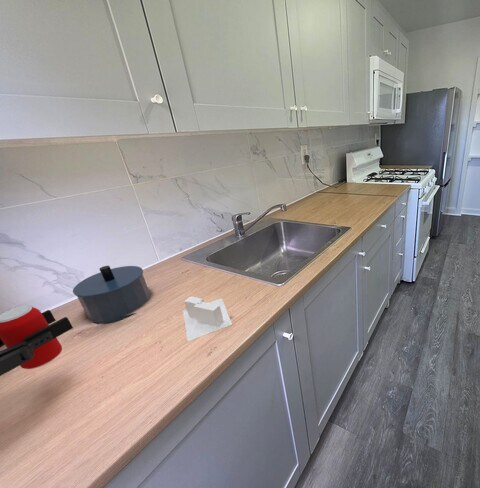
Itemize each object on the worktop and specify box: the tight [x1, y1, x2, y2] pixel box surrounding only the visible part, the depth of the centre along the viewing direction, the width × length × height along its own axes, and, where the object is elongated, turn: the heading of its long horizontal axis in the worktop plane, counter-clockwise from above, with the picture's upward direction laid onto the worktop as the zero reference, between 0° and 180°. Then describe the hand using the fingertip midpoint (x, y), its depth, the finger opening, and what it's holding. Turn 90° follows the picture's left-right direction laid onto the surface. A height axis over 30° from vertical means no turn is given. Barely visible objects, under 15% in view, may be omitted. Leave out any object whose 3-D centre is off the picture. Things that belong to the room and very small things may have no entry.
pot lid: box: [72, 265, 144, 298], centre depth 78 cm, size 17×17×5 cm
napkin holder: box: [182, 296, 233, 342], centre depth 74 cm, size 15×11×6 cm
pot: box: [76, 273, 151, 325], centre depth 81 cm, size 16×16×10 cm
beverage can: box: [0, 305, 63, 370], centre depth 52 cm, size 6×6×12 cm
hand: (60, 318), depth 56 cm, fingers closed on beverage can, 6 cm apart
